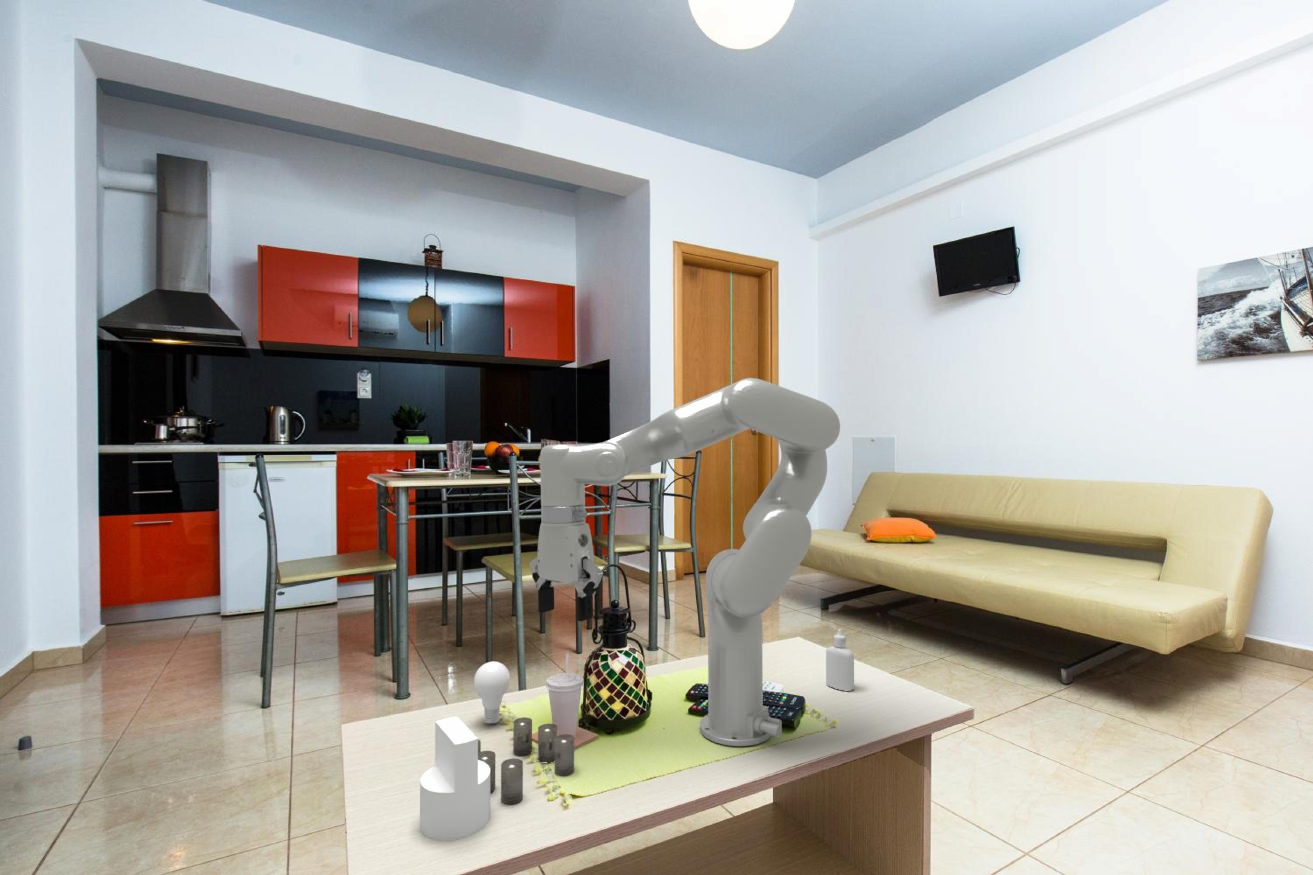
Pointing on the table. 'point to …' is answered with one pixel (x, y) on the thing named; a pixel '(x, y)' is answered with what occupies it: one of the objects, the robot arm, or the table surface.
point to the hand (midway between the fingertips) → (565, 615)
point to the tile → (576, 737)
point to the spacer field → (548, 752)
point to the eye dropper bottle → (840, 664)
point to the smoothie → (565, 700)
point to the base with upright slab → (454, 785)
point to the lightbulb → (491, 688)
